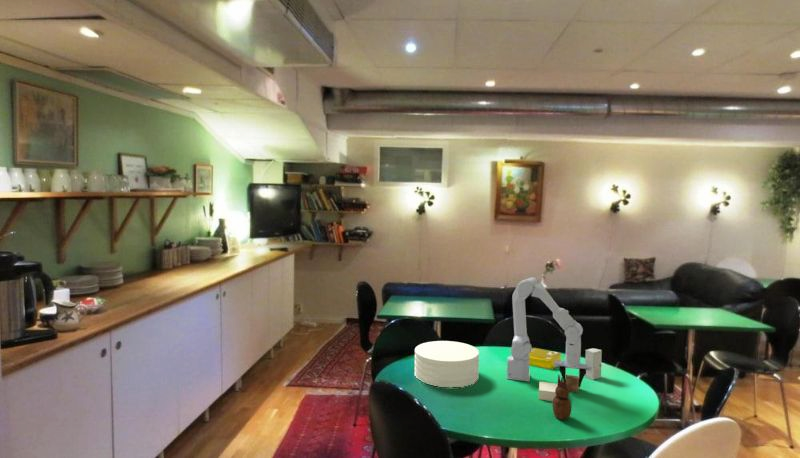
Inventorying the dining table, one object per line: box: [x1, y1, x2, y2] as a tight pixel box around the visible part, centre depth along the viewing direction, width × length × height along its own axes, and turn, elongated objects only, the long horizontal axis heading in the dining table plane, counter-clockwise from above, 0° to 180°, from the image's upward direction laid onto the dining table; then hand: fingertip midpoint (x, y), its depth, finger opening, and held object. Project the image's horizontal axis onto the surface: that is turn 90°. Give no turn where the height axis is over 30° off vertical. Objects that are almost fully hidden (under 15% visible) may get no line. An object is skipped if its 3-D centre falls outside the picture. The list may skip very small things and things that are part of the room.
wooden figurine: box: [551, 374, 572, 421], centre depth 168 cm, size 7×6×15 cm
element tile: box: [529, 347, 562, 370], centre depth 226 cm, size 15×15×5 cm
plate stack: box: [414, 340, 480, 389], centre depth 207 cm, size 28×28×12 cm
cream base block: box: [538, 381, 558, 402], centre depth 187 cm, size 9×9×4 cm
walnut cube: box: [565, 374, 580, 393], centre depth 193 cm, size 5×5×5 cm
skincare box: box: [584, 347, 603, 380], centre depth 207 cm, size 6×4×12 cm
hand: (571, 385), depth 194 cm, fingers closed on walnut cube, 5 cm apart
